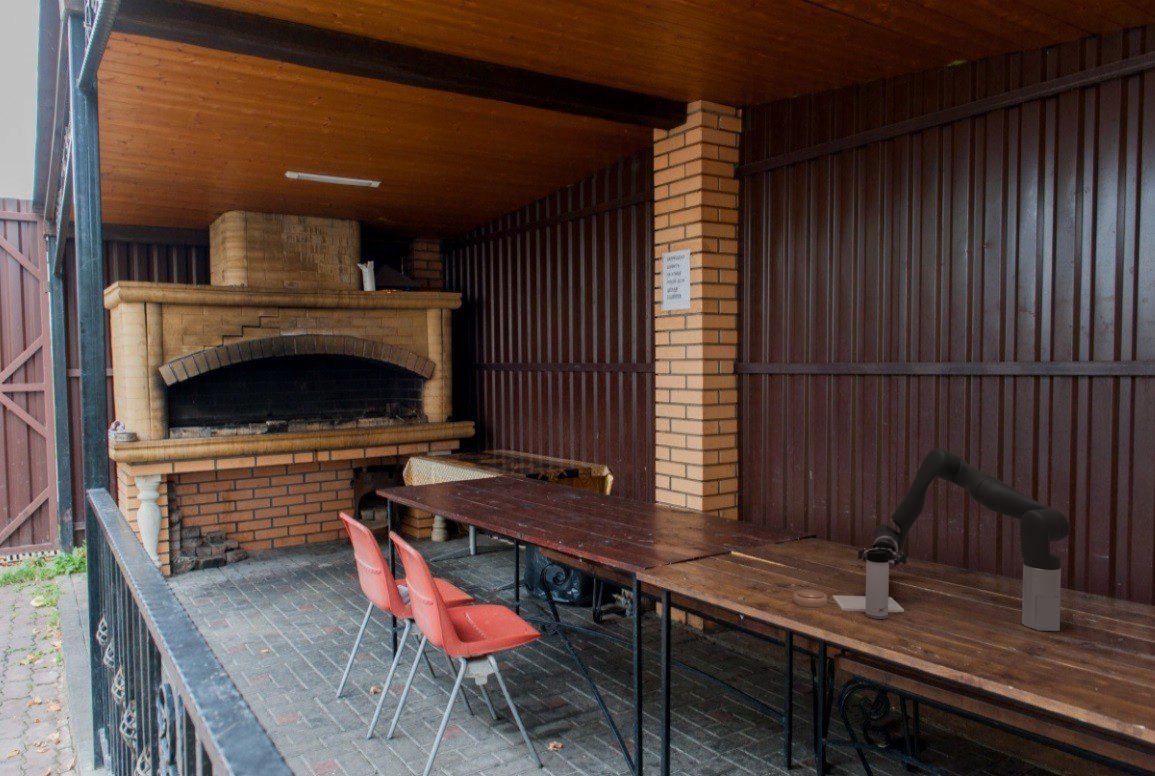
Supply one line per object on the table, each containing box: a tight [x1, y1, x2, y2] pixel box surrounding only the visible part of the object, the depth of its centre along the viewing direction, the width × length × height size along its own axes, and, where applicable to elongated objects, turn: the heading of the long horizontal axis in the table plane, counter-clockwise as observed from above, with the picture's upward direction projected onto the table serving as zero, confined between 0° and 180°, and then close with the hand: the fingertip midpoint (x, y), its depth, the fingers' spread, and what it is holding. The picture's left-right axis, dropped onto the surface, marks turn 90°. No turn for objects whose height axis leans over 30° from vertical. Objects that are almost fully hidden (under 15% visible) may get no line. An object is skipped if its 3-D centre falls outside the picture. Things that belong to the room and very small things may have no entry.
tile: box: [832, 595, 905, 613], centre depth 248 cm, size 13×18×1 cm
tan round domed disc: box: [793, 588, 828, 608], centre depth 250 cm, size 10×10×3 cm
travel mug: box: [864, 549, 891, 620], centre depth 236 cm, size 6×7×20 cm
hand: (880, 561), depth 247 cm, fingers open, 8 cm apart
